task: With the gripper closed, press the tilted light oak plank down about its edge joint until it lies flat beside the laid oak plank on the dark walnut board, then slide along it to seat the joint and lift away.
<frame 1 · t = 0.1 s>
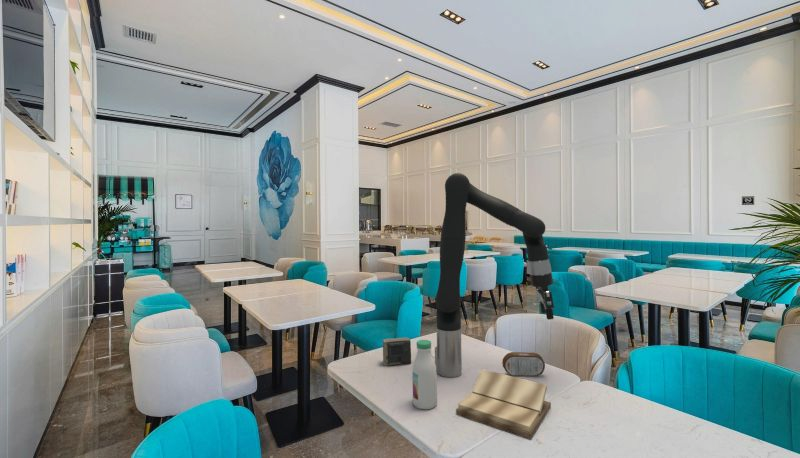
hand: (547, 315, 133), 22 cm above the table, tool pointing down, fingers open, 8 cm apart
tin: (523, 376, 135), on the table
camera: (397, 364, 148), on the table
oak plank: (508, 389, 114), point 5 cm above the table, hinge at 32.0°
floor board: (504, 410, 110), on the table
milk bottle: (425, 404, 115), on the table
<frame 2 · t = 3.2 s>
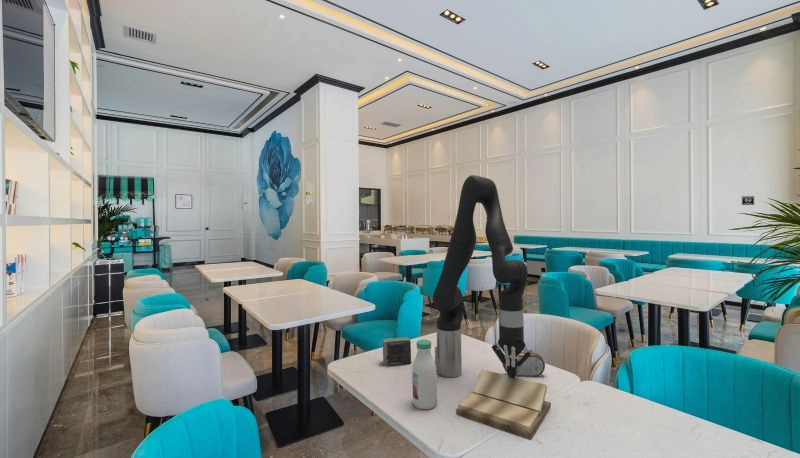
hand: (512, 376, 116), 8 cm above the table, tool pointing down, fingers closed
oak plank: (508, 389, 114), point 5 cm above the table, hinge at 31.9°, touching gripper
everything else where it was.
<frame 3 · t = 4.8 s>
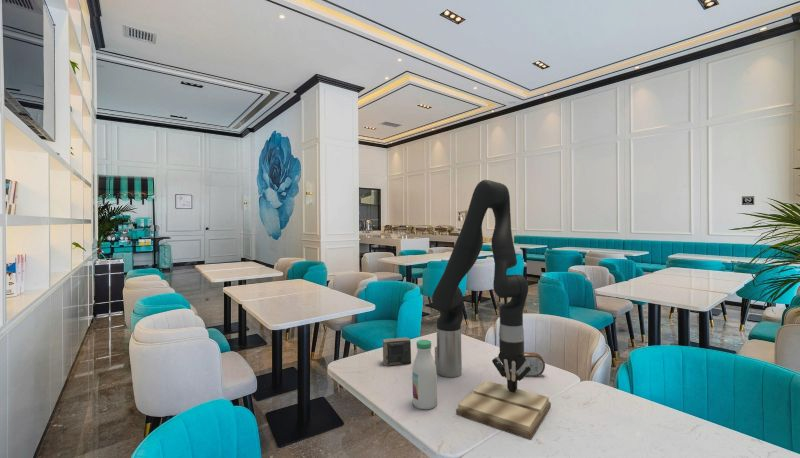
hand: (512, 390, 116), 3 cm above the table, tool pointing down, fingers closed
oak plank: (510, 396, 115), point 2 cm above the table, hinge at 0.6°, touching gripper
everything else where it was.
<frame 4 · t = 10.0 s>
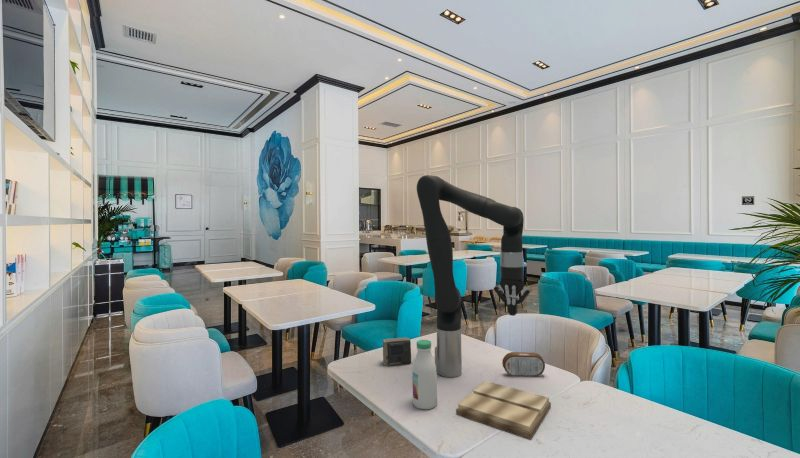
hand: (512, 315, 125), 25 cm above the table, tool pointing down, fingers closed
oak plank: (510, 396, 115), point 2 cm above the table, hinge at -0.3°, touching floor board
everything else where it was.
at the end: oak plank at +0° (first picture: +32°); milk bottle moved 0.2 cm from its start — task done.
